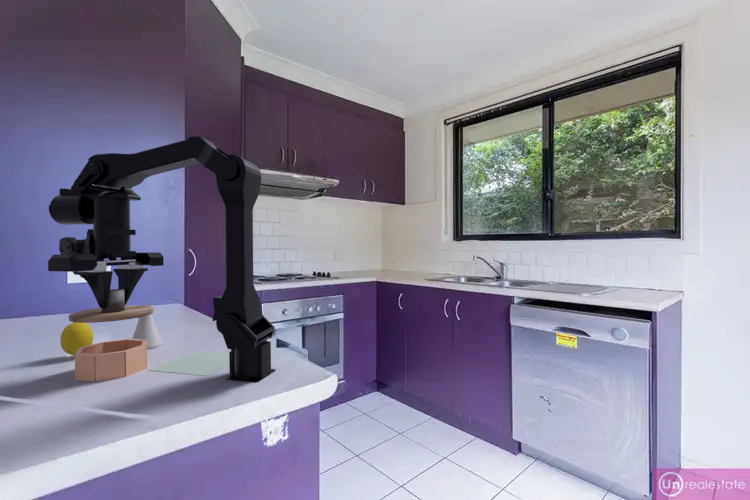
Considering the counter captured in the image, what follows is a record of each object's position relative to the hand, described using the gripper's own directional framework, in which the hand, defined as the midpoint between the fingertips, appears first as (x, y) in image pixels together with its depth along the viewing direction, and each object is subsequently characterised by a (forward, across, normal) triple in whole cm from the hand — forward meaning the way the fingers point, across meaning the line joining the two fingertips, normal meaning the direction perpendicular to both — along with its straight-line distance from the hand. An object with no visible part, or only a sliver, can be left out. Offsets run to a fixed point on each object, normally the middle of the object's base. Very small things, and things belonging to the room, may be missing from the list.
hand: (113, 306), depth 70 cm
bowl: (+13, 0, 0) cm, 13 cm away
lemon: (+13, -6, -17) cm, 22 cm away
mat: (+12, -8, +13) cm, 20 cm away
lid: (+2, 0, 0) cm, 2 cm away
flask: (+13, -15, -8) cm, 21 cm away
